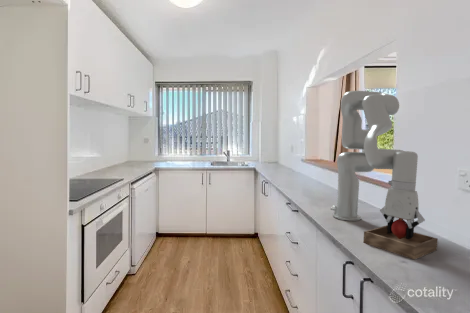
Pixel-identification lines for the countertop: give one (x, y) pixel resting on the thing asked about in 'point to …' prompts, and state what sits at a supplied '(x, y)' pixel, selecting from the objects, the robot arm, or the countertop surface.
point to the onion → (399, 228)
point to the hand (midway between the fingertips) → (399, 235)
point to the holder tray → (401, 243)
